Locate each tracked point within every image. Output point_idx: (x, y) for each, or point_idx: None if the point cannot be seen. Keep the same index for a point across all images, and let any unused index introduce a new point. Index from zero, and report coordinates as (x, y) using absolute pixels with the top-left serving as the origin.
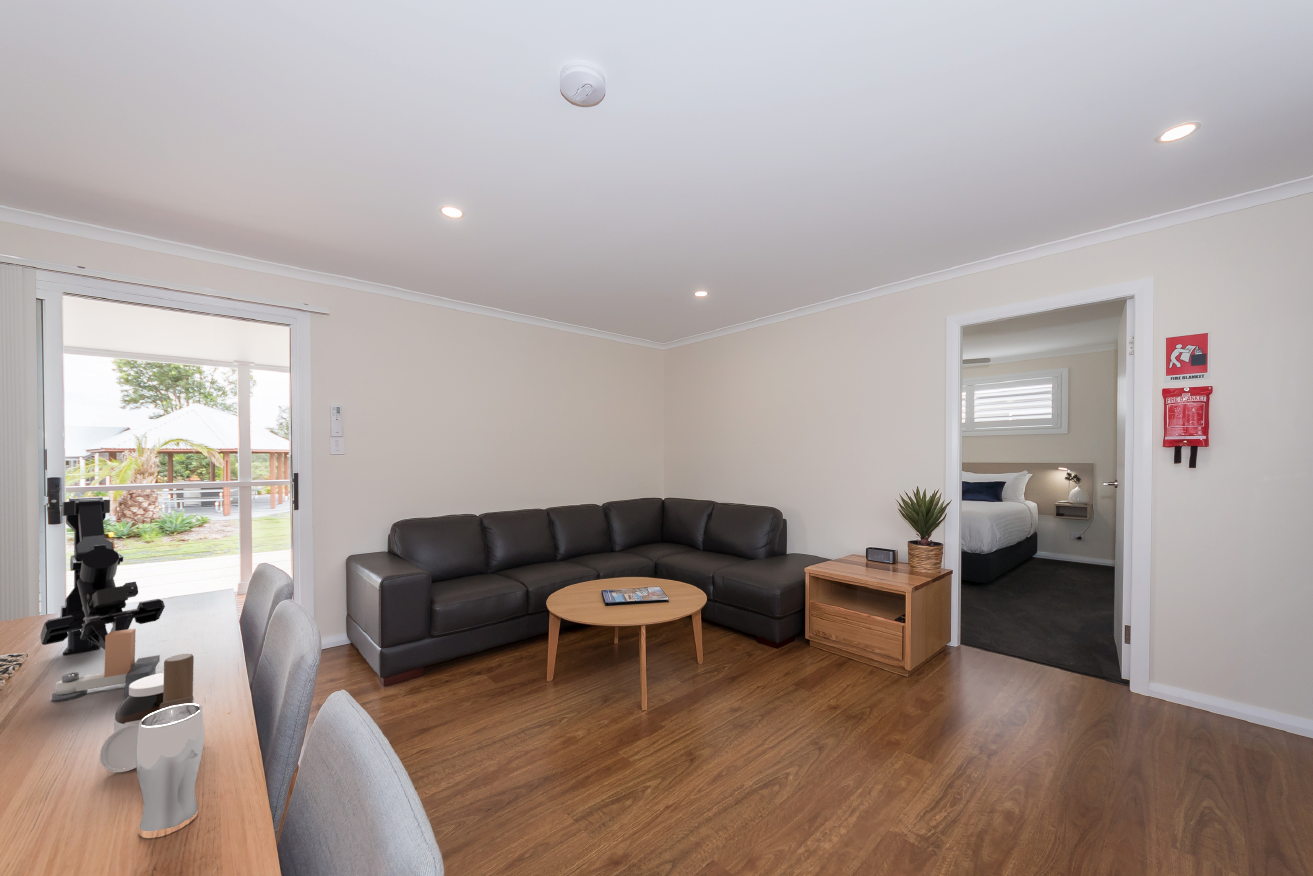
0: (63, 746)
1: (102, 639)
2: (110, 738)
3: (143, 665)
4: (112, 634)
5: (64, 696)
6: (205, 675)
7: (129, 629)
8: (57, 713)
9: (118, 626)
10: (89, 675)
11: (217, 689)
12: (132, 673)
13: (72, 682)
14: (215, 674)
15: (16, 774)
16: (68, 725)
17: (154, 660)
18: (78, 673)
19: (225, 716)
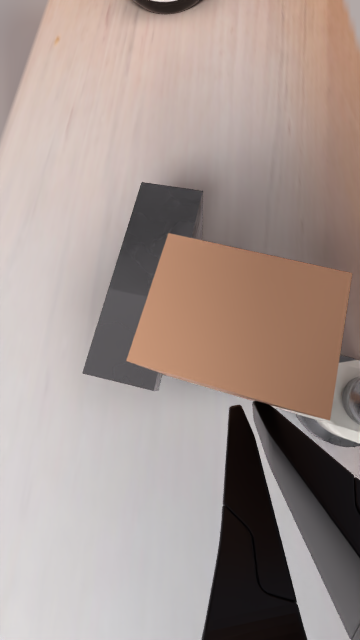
0: (294, 70)
1: (354, 484)
2: None
3: (147, 266)
4: (300, 277)
5: (348, 357)
6: (23, 287)
7: (173, 359)
8: (338, 263)
9: (271, 626)
10: (309, 416)
11: (35, 164)
12: (184, 199)
13: (353, 367)
14: (4, 275)
15: (343, 14)
16: (301, 165)
17: (109, 303)
18: (354, 397)
19: (66, 30)
